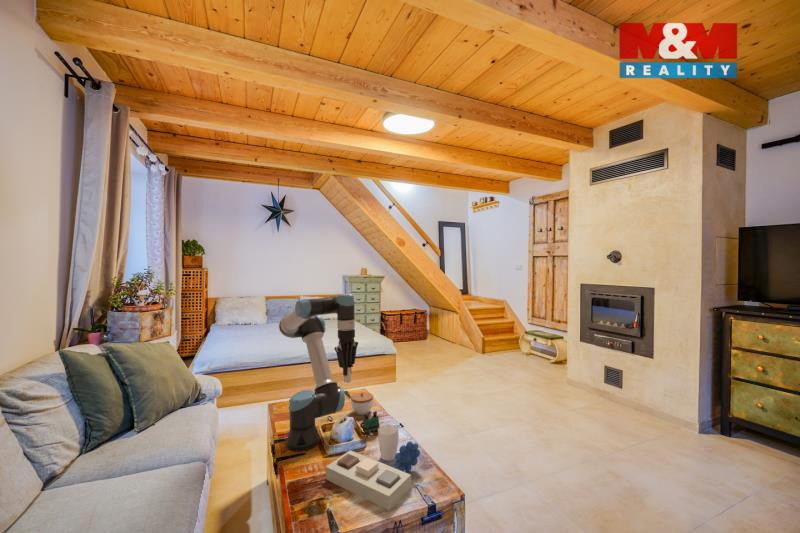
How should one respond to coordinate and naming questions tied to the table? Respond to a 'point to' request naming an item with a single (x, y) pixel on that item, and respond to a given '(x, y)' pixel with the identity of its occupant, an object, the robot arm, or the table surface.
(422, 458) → the table surface
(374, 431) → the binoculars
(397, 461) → the grapes
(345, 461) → the walnut key
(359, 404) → the lidded bowl
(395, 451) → the cup
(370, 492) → the key panel
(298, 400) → the robot arm
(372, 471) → the ivory key
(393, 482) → the slate key
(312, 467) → the table surface
